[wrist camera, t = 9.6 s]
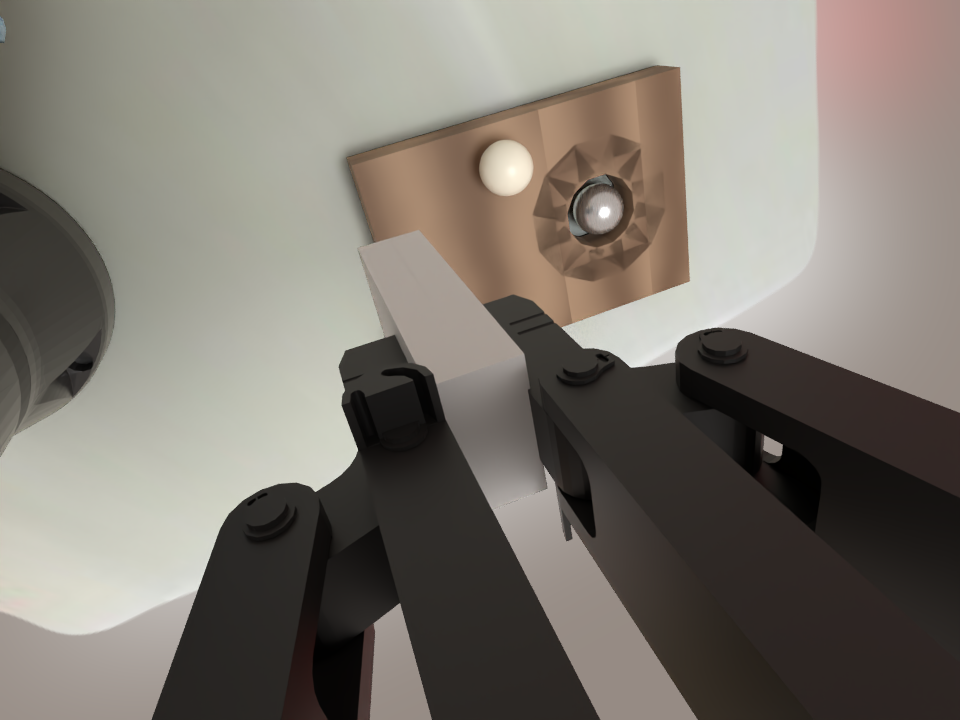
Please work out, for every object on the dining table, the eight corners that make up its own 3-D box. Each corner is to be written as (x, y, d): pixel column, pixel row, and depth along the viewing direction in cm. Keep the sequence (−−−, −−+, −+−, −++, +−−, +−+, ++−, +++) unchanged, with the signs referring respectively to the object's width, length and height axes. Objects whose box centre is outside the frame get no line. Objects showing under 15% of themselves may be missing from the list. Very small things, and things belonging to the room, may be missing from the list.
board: (412, 360, 43) (420, 377, 40) (346, 157, 35) (351, 165, 33) (670, 269, 45) (689, 281, 43) (656, 65, 38) (679, 67, 36)
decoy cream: (478, 196, 36) (495, 208, 34) (467, 144, 35) (483, 153, 32) (526, 181, 37) (545, 192, 34) (516, 129, 35) (536, 137, 32)
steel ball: (571, 244, 40) (620, 241, 39) (563, 196, 38) (614, 192, 37) (584, 223, 42) (630, 220, 41) (577, 178, 41) (625, 173, 39)
